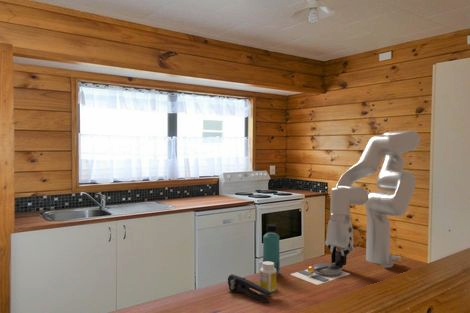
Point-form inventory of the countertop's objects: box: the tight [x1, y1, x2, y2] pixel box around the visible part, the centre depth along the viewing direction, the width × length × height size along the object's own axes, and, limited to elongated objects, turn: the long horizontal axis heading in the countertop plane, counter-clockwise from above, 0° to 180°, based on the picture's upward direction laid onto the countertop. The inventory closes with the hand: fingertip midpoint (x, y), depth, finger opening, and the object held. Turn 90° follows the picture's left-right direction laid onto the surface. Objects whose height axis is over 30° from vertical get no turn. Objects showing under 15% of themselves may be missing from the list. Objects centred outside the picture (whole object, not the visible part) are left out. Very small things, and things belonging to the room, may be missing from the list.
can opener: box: [227, 274, 272, 303], centre depth 116 cm, size 18×7×6 cm, turn 45°
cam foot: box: [307, 249, 344, 276], centre depth 135 cm, size 19×11×7 cm, turn 125°
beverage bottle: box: [262, 223, 281, 276], centre depth 133 cm, size 6×7×20 cm
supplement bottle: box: [259, 261, 277, 297], centre depth 118 cm, size 6×6×10 cm
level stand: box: [289, 268, 351, 286], centre depth 133 cm, size 20×13×2 cm, turn 127°
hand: (338, 263), depth 140 cm, fingers closed on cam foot, 3 cm apart
